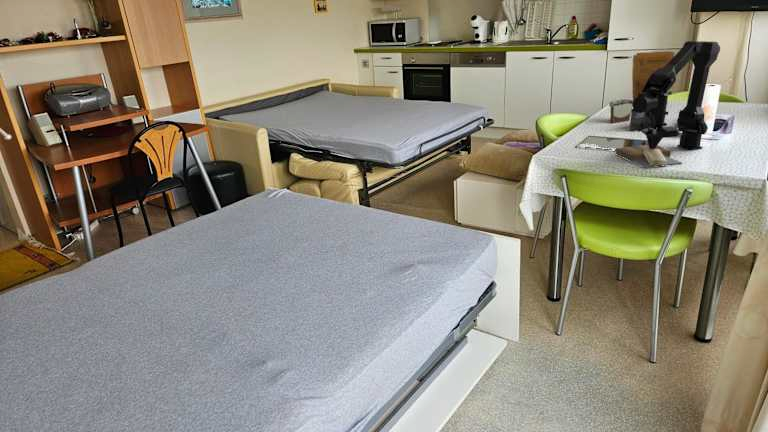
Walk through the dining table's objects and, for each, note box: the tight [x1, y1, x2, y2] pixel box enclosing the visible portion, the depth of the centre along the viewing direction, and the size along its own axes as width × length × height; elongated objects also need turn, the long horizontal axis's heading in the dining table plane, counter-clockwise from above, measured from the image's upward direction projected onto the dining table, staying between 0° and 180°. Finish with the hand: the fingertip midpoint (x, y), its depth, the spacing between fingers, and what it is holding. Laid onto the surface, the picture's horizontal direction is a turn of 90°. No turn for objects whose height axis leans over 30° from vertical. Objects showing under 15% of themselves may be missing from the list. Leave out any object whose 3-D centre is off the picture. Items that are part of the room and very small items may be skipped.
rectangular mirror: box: [575, 135, 648, 152], centre depth 212 cm, size 19×1×28 cm
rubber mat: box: [631, 156, 683, 169], centre depth 188 cm, size 14×9×1 cm, turn 99°
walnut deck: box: [615, 144, 672, 162], centre depth 196 cm, size 16×10×2 cm, turn 99°
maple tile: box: [644, 149, 667, 167], centre depth 186 cm, size 5×9×2 cm, turn 172°
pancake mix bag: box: [631, 50, 676, 101], centre depth 271 cm, size 7×19×28 cm, turn 57°
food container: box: [609, 98, 633, 124], centre depth 248 cm, size 12×6×10 cm, turn 108°
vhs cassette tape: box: [629, 108, 645, 132], centre depth 234 cm, size 18×3×10 cm, turn 124°
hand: (651, 150), depth 191 cm, fingers closed
